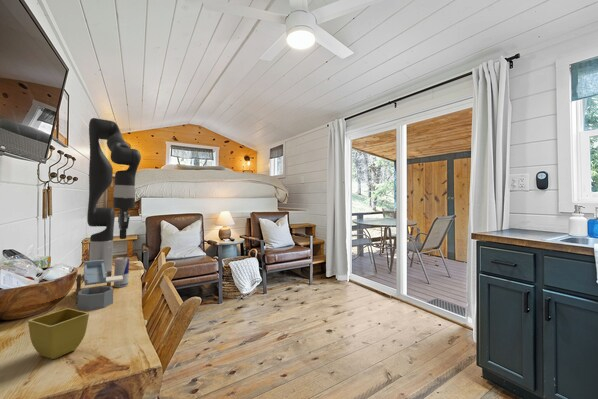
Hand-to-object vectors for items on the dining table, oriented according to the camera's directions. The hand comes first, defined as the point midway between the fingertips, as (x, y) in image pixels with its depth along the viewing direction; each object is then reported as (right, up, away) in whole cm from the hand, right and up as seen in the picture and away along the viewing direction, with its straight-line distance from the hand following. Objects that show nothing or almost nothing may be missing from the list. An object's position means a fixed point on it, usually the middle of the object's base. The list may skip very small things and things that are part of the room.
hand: (122, 238), depth 114 cm
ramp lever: (-6, -15, -3) cm, 17 cm away
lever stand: (-8, -21, -5) cm, 24 cm away
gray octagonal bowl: (-1, -22, -14) cm, 26 cm away
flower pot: (+13, -22, -46) cm, 52 cm away
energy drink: (-6, -22, +8) cm, 24 cm away
